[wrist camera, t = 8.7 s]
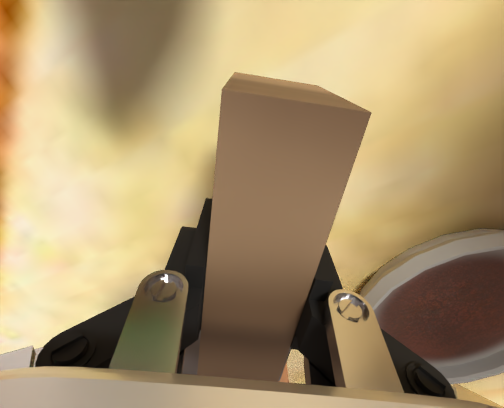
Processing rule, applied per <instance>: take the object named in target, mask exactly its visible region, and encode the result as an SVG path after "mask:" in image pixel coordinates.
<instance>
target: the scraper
mask: <svg viewBox="0 0 504 408" xmlns="http://www.w3.org/2000/svg"><path fill="white" fill-rule="evenodd" d="M370 115H371V112H369V111H367V110H365V109H363V108H361V107H359V106H357V105H355V104H353V103H351V102H349V101H347V100H345V99H343V98H341V97H339V96H337V95H335V94H333V93H331V92H329V91H327V90H325V89H323V88H321V87H319V86H316V85H310V84H304V83H298V82H292V81H286V80H279V79H273V78H267V77H261V76H255V75H249V74H242V73H236V72H235V73H234V74H233V75H232V77H231V78H230V79H229V81H228V82H227V83H226V85H225V86H224V87H223V89H222V95H221V107H220V118H219V130H218V141H217V153H216V164H215V176H214V187H213V199H212V210H211V222H210V233H209V244H208V256H207V267H206V279H205V290H204V302H203V313H202V325H201V330H200V333H199V339H198V340H196V341H195V342H194V343H193V344H191V345H190V346H188V347H187V348H186V349H185V358H184V365H183V372H182V374H190V375H201V376H213V377H226V378H238V379H250V380H262V381H274V382H278V381H280V379H281V376H282V373H283V370H284V367H285V365H286V362H287V359H288V356H289V353H290V350H291V349H290V346H291V343H292V340H293V337H294V334H295V331H296V328H297V325H298V323H299V320H300V317H301V314H302V311H303V308H304V305H305V302H306V300H307V297H308V294H309V291H310V288H311V285H312V282H313V279H314V277H315V274H316V271H317V268H318V265H319V262H320V259H321V256H322V253H323V251H324V248H325V245H326V242H327V239H328V236H329V233H330V230H331V228H332V225H333V222H334V219H335V216H336V213H337V210H338V207H339V205H340V202H341V199H342V196H343V193H344V190H345V187H346V184H347V182H348V179H349V176H350V173H351V170H352V167H353V164H354V161H355V159H356V156H357V153H358V150H359V147H360V144H361V141H362V138H363V136H364V133H365V130H366V127H367V124H368V121H369V118H370Z"/></svg>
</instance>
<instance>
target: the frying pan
mask: <svg viewBox="0 0 504 408" xmlns="http://www.w3.org/2000/svg"><path fill="white" fill-rule="evenodd" d="M359 295H360V296H362V297H363V298H364V299H366V301H367V302H368V303H369V304H370V305H371V307H372V309H373V311H374V313H375V316H376V319H377V321H378V324H379V327H380V328H381V329H383V330H384V331H385V332H387V333H388V334H389V335H391V336H392V337H394V338H395V339H396V340H398V341H399V342H400V343H402V344H403V345H405V346H406V347H407V348H409V349H410V350H411V351H413V352H414V353H416V354H417V355H418V356H420V357H421V358H422V359H424V360H425V361H427V362H428V363H429V364H431V365H432V366H433V367H435V368H436V369H437V370H438V371H439V372H441V373H442V374H443V376H444V377H445V378H446V379H447V380H448V381H449V383H450V384H455V383H456V384H458V383H467V382H471V381H475V380H479V379H483V378H487V377H490V376H494V375H498V374H501V373H503V372H504V230H497V229H481V228H480V229H475V230H469V231H463V232H457V233H451V234H445V235H442V236H439V237H437V238H434V239H432V240H429V241H427V242H424V243H422V244H419V245H417V246H414V247H412V248H409V249H408V250H406V251H405V252H403V253H402V254H400V255H399V256H397V257H395V258H394V259H392V260H391V261H389V262H388V263H386V264H385V265H383V266H382V267H380V269H379V270H378V271H377V272H376V273H375V274H374V275H373V276H372V278H371V279H370V280H369V281H368V282H367V283H366V284H365V286H364V287H363V288H362V289H361V292H360V294H359Z"/></svg>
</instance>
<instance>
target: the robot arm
mask: <svg viewBox="0 0 504 408" xmlns="http://www.w3.org/2000/svg"><path fill="white" fill-rule="evenodd" d="M211 210H212V199H209V198H206V200H205V203H204V207H203V210H202V213H201V216H200V219H199V223H198V226H197V228H191V227H182V228H181V230H180V233H179V235H178V238H177V240H176V243H175V245H174V248H173V250H172V253H171V255H170V258H169V260H168V263H167V265H166V268H165V270H160V271H156V272H153V273H151V274H149V275H148V276H146V277H145V278H144V279H143V280H142V281H141V283H140V285H139V287H138V290H137V292H136V295H135V297H133V298H131V299H129V300H127V301H125V302H123V303H121V304H119V305H117V306H115V307H113V308H111V309H108V310H106V311H104V312H102V313H100V314H98V315H96V316H94V317H92V318H90V319H88V320H86V321H84V322H82V323H80V324H78V325H76V326H74V327H72V328H70V329H68V330H66V331H64V332H62V333H60V334H59V335H57V336H55V337H54V338H52V339H51V340H50V341H49V342H48V343H47V344H46V345H45V346H44V347H42V348H38V349H35V350H34V347H33V346H30V347H26V348H23V349H19V350H15V351H12V352H8V353H5V354H1V355H0V408H504V407H502V406H500V405H498V404H496V403H494V402H492V401H490V400H488V399H486V398H484V397H482V396H480V395H478V394H476V393H474V392H472V391H470V390H468V389H466V388H464V387H462V386H460V385H458V384H456V383H455V384H454V385H453V386H451V385H450V383H449V381H448V380H447V379H446V378H445V377H444V376H443V374H442V373H441V372H439V371H438V370H437V369H436V368H435V367H433V366H432V365H431V364H429V363H428V362H427V361H425V360H424V359H422V358H421V357H420V356H418V355H417V354H416V353H414V352H413V351H411V350H410V349H409V348H407V347H406V346H405V345H403V344H402V343H400V342H399V341H398V340H396V339H395V338H394V337H392V336H391V335H389V334H388V333H387V332H385V331H384V330H383V329H381V328H380V327H379V324H378V321H377V319H376V316H375V313H374V311H373V309H372V307H371V305H370V304H369V303H368V302H367V301H366V299H364V298H363V297H362V296H360V295H359V294H357V293H355V292H353V291H349V290H344V289H343V288H342V285H341V282H340V280H339V277H338V274H337V272H336V269H335V266H334V263H333V261H332V258H331V255H330V253H329V250H328V247H327V246H326V245H325V248H324V251H323V253H322V256H321V259H320V262H319V265H318V268H317V271H316V274H315V277H314V279H313V282H312V285H311V288H310V291H309V294H308V297H307V300H306V302H305V305H304V308H303V311H302V314H301V317H300V320H299V323H298V325H297V328H296V331H295V334H294V337H293V340H292V343H291V346H290V349H297V350H299V351H300V352H301V353H302V354H303V355H304V370H305V382H306V384H297V383H285V382H274V381H262V380H250V379H238V378H226V377H213V376H201V375H188V374H182V372H183V365H184V358H185V349H186V348H187V347H188V346H190V345H191V344H193V343H194V342H195V341H196V340H198V339H199V333H200V330H201V325H202V313H203V302H204V290H205V279H206V267H207V256H208V244H209V233H210V222H211Z"/></svg>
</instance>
